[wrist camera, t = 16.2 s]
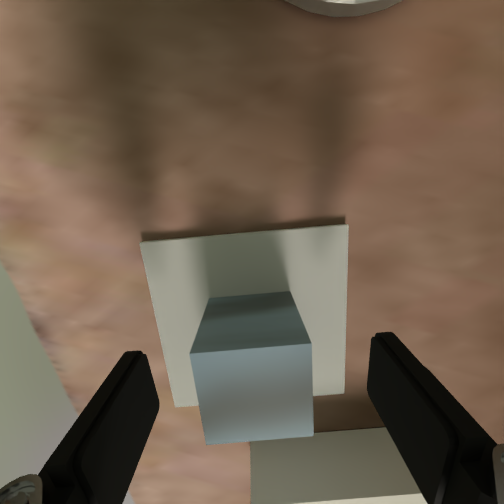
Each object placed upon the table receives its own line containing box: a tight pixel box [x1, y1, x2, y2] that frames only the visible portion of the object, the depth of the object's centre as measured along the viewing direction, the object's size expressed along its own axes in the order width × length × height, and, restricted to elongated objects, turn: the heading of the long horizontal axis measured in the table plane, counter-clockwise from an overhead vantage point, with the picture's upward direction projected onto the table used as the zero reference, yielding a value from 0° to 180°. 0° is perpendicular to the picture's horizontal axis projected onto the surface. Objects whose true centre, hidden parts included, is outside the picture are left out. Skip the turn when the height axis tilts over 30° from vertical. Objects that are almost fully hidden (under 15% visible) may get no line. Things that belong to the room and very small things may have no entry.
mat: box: [139, 224, 349, 407], centre depth 15 cm, size 12×12×1 cm
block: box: [189, 291, 314, 445], centre depth 13 cm, size 5×5×5 cm
